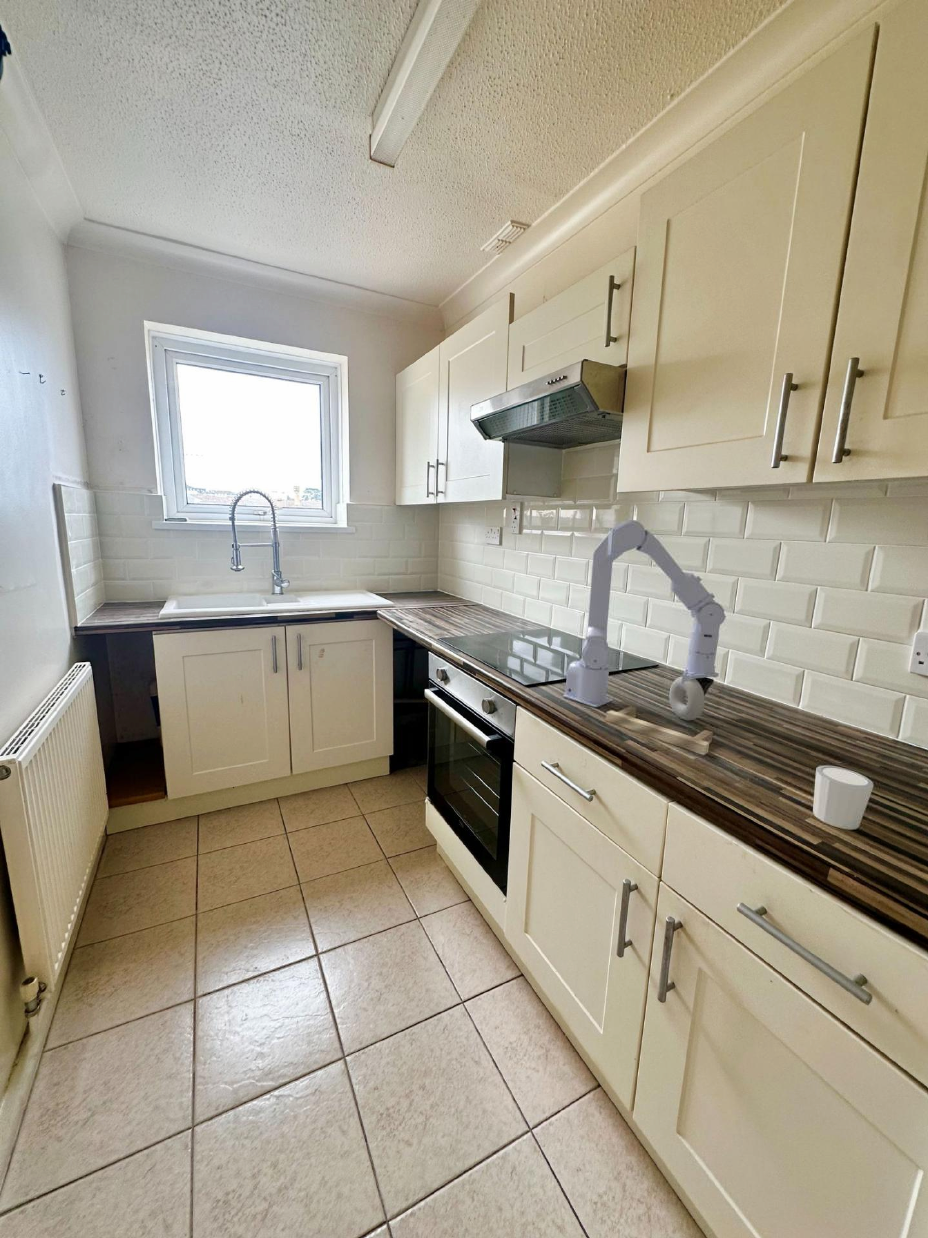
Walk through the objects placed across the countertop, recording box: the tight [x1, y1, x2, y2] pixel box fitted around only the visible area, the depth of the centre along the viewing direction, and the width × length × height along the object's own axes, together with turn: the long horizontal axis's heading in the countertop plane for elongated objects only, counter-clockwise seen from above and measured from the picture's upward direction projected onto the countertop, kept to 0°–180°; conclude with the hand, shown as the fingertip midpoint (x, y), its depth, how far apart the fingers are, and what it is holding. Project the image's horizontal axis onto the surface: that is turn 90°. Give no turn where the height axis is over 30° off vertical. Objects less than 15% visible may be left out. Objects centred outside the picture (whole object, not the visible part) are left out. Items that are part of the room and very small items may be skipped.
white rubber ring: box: [668, 676, 706, 721], centre depth 111 cm, size 10×3×10 cm, turn 12°
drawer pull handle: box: [605, 706, 714, 756], centre depth 103 cm, size 21×8×2 cm, turn 44°
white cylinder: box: [812, 765, 874, 831], centre depth 74 cm, size 7×7×7 cm
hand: (694, 707), depth 116 cm, fingers closed
